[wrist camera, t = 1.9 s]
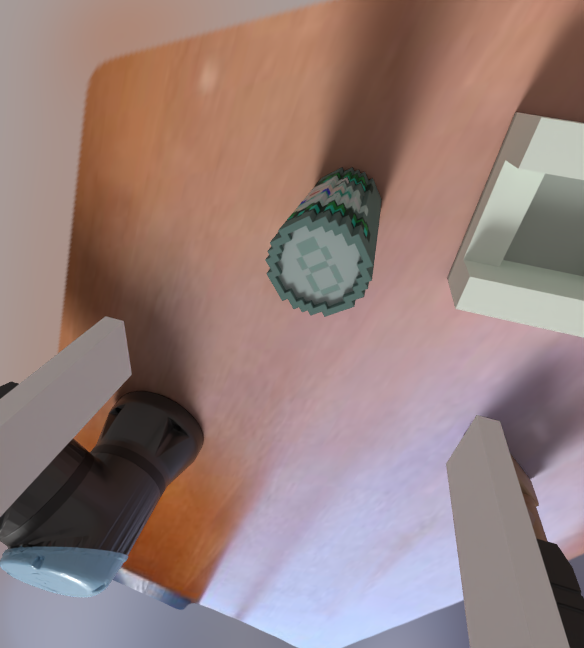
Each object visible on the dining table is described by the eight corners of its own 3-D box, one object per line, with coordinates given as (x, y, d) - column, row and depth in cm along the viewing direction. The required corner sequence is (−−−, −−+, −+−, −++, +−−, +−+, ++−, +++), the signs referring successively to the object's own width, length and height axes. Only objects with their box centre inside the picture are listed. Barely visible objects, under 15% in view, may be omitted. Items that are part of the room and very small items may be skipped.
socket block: (447, 278, 35) (455, 308, 30) (515, 112, 27) (541, 117, 22) (602, 311, 34) (637, 349, 29) (722, 144, 26) (800, 157, 21)
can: (363, 155, 31) (343, 199, 19) (389, 220, 34) (386, 295, 21) (302, 188, 34) (249, 244, 22) (330, 245, 36) (297, 326, 24)
